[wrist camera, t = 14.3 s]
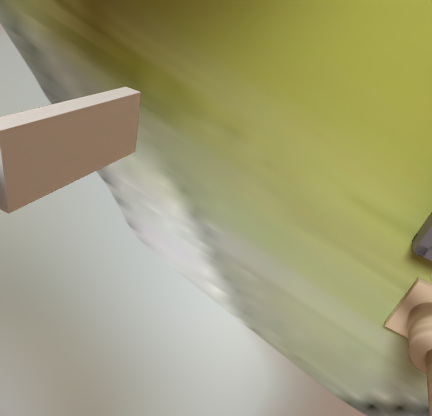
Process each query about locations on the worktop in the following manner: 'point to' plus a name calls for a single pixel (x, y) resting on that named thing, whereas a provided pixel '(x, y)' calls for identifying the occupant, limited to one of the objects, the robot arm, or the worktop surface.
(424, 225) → the tray
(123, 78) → the worktop surface
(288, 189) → the worktop surface
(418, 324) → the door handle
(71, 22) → the worktop surface
